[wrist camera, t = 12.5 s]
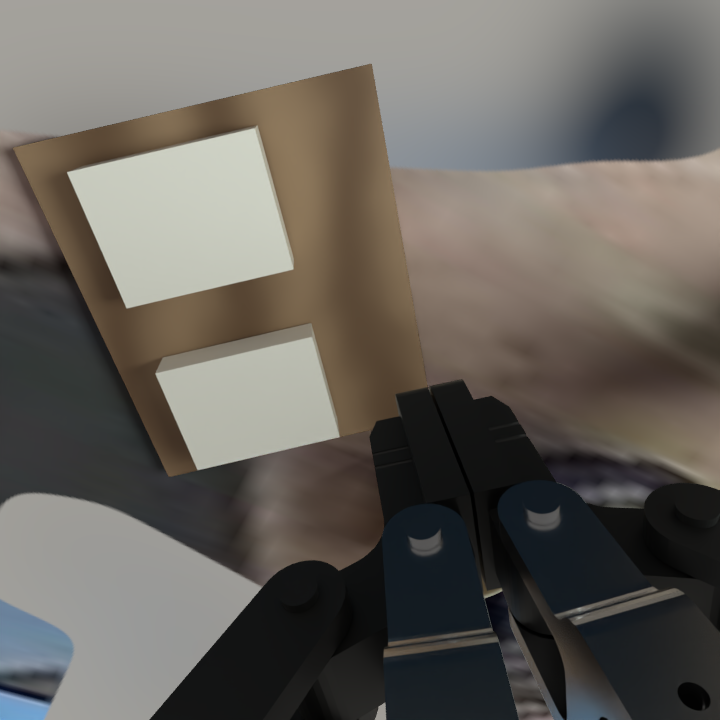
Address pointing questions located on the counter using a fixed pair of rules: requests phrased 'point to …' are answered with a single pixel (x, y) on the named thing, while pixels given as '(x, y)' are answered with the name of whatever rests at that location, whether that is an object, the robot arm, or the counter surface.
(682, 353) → the counter surface
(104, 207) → the tile near
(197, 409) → the tile far
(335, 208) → the board
